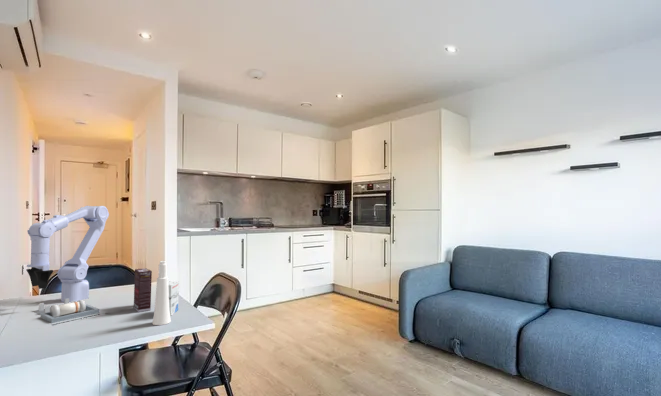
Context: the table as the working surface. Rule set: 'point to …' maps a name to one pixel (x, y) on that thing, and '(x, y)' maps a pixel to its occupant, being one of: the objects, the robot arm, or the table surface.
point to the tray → (51, 319)
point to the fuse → (67, 308)
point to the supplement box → (142, 289)
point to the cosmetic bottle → (162, 297)
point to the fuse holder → (48, 307)
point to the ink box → (173, 296)
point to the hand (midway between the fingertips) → (39, 287)
